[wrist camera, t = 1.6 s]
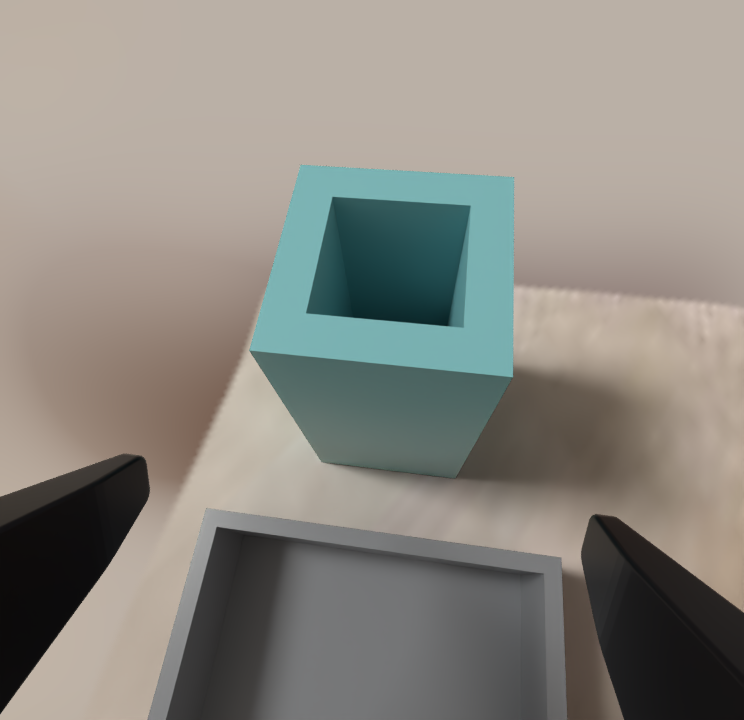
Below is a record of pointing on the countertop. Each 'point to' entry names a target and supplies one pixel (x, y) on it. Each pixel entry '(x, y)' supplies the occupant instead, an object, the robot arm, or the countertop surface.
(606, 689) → the countertop surface
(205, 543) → the gray square tray
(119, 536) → the robot arm
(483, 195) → the teal square planter
